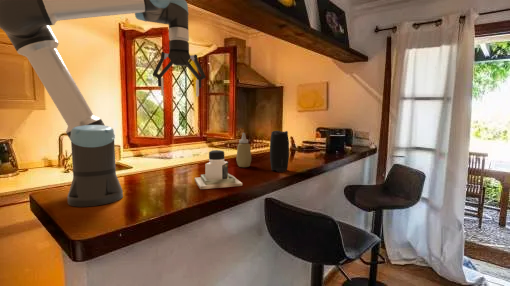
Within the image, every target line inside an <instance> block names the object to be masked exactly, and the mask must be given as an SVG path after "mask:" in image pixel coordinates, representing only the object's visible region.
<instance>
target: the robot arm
mask: <svg viewBox="0 0 510 286" xmlns="http://www.w3.org/2000/svg"><path fill="white" fill-rule="evenodd" d="M188 6H189V5H188V2H187V1H186V0H0V29H1V30H2V31H3V32H4V33H5V34H6V35H7V37H8V40H10V42H11V45H12V46H13V47H14V49H15V51H16V53H17V54H18V55H20V56H22V57H25V58H27V60H28V62H29V63H30V64H31V65H30V66H31V67H32V68H33V70H34V71H35V73H36V75H37V77H38V78H39V80H40V82H41V83H42V85H43V88H44V89H45V90H46V92H47V94H48V95H49V96H50V99H51V100H52V102H53V103H54V105H55V107H56V108H57V111H59V112H58V113H60V115H61V117H62V119H63V120H64V122H65V124H66V125H67V129H66V130H65V134H66V135H67V137H68V139H69V141H70V142H71V143H70V144H71V147H70V148H71V160H72V161H71V164H72V165H71V166H72V181H71V184H70V187H69V190H68V193H67V204H68V205H69V206H71V207H76V208H77V207H78V208H79V207H80V208H82V207H85V208H86V207H87V208H88V207H96V206H102V205H107V204H108V205H109V204H111V203H114V202H118V201H119V200H122V199H123V197H124V194H123V188H122V185H121V182H120V181H119V178H118V176H117V170H116V169H117V168H116V149H115V145H116V144H115V139H116V135H115V132H114V128H113V127H112V126H109V125H105V124H104V122H103V120H102V118H101V117H98V116H96V115H95V114H94V113H93V111H92V109H91V107H90V106H89V104H88V103H87V100H86V98H85V97H84V95H83V94H82V92H81V90H80V88H79V86H78V85H77V83H76V81H75V79H74V78H73V76H72V74H71V72H70V70H69V69H68V67H67V66H66V63H65V62H64V60H63V58H62V56H61V55H60V53H59V51H58V46H59V44H60V43H59V41H58V39H57V37H56V36H55V34H54V32H53V30H52V28H51V26H55V24H57V22H58V21H68V20H78V19H88V18H89V19H91V18H98V17H100V18H101V17H108V16H119V15H129V14H134V17H135V19H137V20H138V21H143V22H149V23H155V24H156V23H157V24H164V25H168V40H169V42H168V43H169V44H168V47H169V49H168V51H169V52H168V53H166V52H164V51H161V53H160V58H159V61H158V63H157V65H156V66H155V69H154V70H153V72H152V76H153V77H154V78H156V79H157V86H158V87H159V88H160V90H161V91H160V92H161V96H164V94H165V93H164V77H163V76H164V75H165V73H167V72H168V71H169V69H170V68H171V67H172V66H173V65H174V66H175V67H177V66H181V67H184V66H185V67H187V68H188V69H189V71H190V72H191V74H193V76H194V77H195V78H196V80H195V96H196V97H199V96H200V89H201V88H202V80H204V79H206V78H207V77H206V74H205V72H204V70H203V68H202V66H201V64H200V62H199V60H198V55H197V54H194V55H193V54H191V55H190V43H189V42H190V35H189V34H190V32H189V13H190V12H189V7H188ZM167 58H168V59H169V60H170V61H169V62H168V63H167V64H166V66H165V67H164V68H163V69H162V70H161V71H160V68H161V67H162V65H163V63H164V60H166V59H167ZM190 59H191V60H192V62H193V63H194V65H195V67H196V69H195V68H194V67H193V66H192V65H191V64H192V63H190ZM197 71H198V72H199V73H198V72H197Z"/></svg>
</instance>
